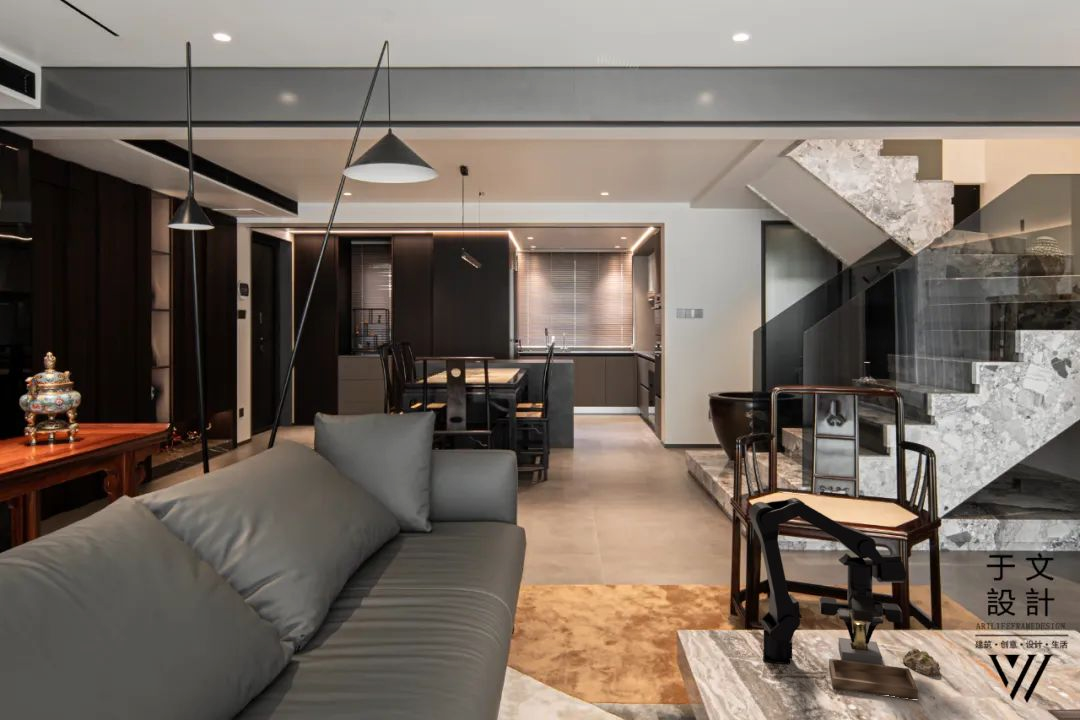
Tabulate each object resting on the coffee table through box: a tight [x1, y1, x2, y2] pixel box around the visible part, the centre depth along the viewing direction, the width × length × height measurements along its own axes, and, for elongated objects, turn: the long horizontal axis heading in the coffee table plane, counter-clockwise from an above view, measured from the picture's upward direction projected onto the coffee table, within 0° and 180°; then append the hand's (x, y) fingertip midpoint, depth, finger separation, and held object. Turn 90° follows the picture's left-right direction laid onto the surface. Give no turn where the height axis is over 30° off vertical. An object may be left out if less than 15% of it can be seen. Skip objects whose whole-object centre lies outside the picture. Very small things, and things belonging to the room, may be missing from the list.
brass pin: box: [852, 620, 867, 651], centre depth 176 cm, size 3×3×9 cm
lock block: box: [838, 637, 883, 665], centre depth 176 cm, size 9×9×3 cm
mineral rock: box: [902, 648, 940, 677], centre depth 171 cm, size 11×4×8 cm
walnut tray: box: [828, 658, 919, 700], centre depth 162 cm, size 18×11×2 cm, turn 72°
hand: (859, 642), depth 176 cm, fingers closed on brass pin, 3 cm apart
